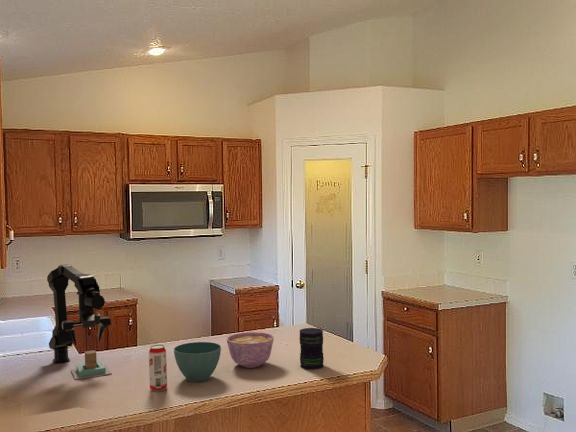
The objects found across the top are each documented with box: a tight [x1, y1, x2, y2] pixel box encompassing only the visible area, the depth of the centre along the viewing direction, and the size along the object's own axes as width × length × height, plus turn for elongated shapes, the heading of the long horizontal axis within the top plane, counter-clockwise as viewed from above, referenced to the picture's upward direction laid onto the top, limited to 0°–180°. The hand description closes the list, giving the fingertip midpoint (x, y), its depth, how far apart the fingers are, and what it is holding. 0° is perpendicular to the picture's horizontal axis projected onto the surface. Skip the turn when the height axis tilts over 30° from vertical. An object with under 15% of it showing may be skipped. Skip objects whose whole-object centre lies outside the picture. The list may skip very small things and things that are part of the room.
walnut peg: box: [84, 350, 97, 369], centre depth 236 cm, size 4×4×8 cm
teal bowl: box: [173, 341, 222, 383], centre depth 226 cm, size 18×18×12 cm
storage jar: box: [299, 327, 325, 371], centre depth 239 cm, size 10×10×15 cm
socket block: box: [70, 361, 112, 381], centre depth 237 cm, size 14×14×2 cm
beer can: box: [148, 344, 168, 393], centre depth 214 cm, size 6×6×16 cm
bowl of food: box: [226, 331, 275, 369], centre depth 243 cm, size 20×20×12 cm
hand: (87, 343), depth 238 cm, fingers open, 9 cm apart
